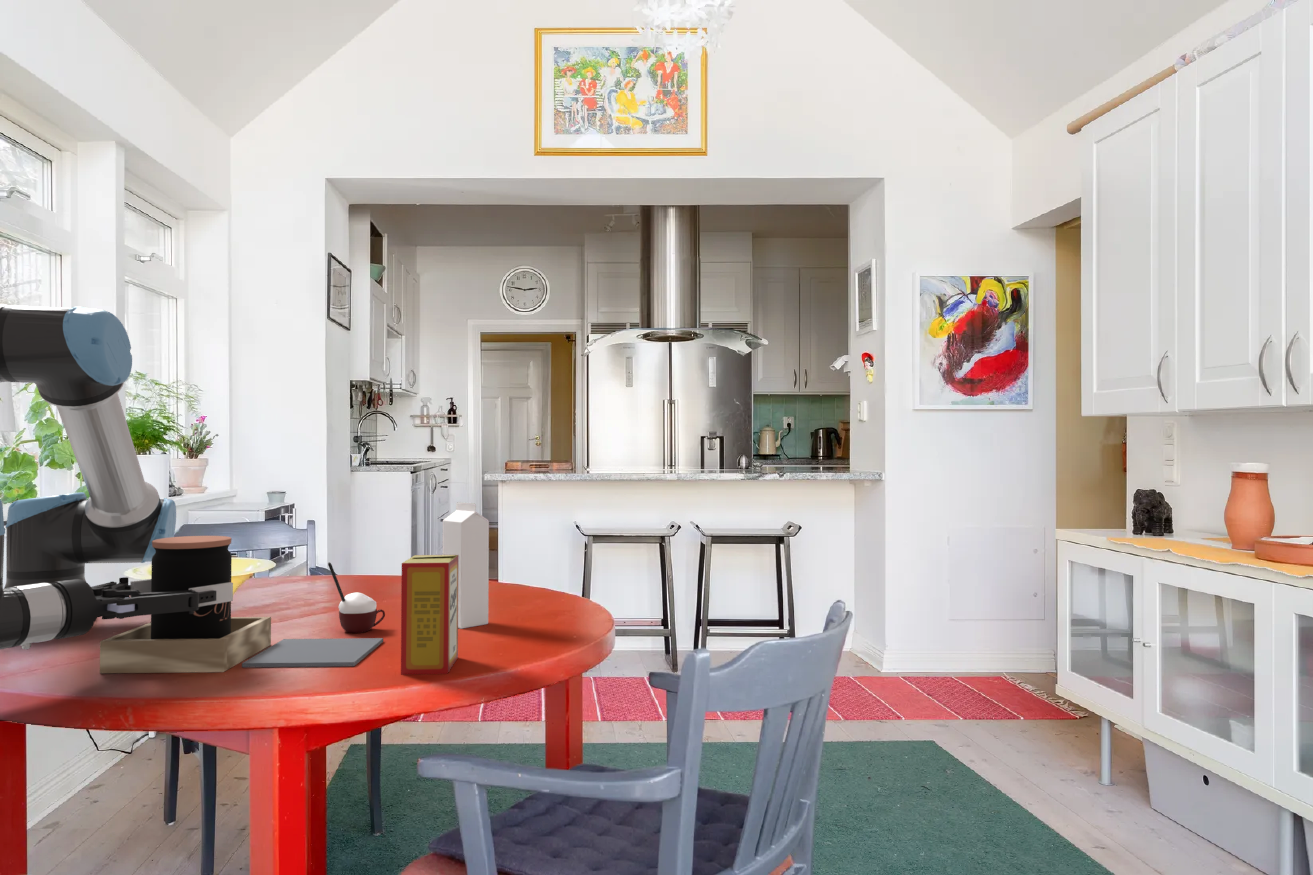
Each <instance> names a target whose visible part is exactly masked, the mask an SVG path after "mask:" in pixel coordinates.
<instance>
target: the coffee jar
mask: <svg viewBox="0 0 1313 875" xmlns="http://www.w3.org/2000/svg"><path fill="white" fill-rule="evenodd" d="M232 540H233V539H232V537H231V536H226V535H186V536H174V537H170V538H162V539H156V540H153V541H152V546H153V548H154V549H155V550H156V553H155V554H154V555H153V556H152V561H151V575H150V576H151V578H150V579H151V592H169V591H188V590H189V588H196V587H202V586H209V585H215V584H222V583H229V582H231V583H232V553H231V552H230V550H229V547H230V545H232ZM231 617H232V601H229V602H223V603H218V604H212V605H206V606H200V607H199V609H198V610H196V611H195V613H194V614H189V611H184V612H173V613H163V614H153V615H150V622H151V639H220V638H222V637H224V636H226V635H228V634H231Z"/></svg>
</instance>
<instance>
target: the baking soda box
mask: <svg viewBox="0 0 1313 875" xmlns="http://www.w3.org/2000/svg"><path fill="white" fill-rule="evenodd" d="M458 562H459V555H443V554H415V555H413V556H411V557H410V558H408V559H406V560H405V561H403V562H402V563H401V592H400V593H401V596H400V597H401V599H400V600H401V602H400V606H401V608H400V611H401V613H400V615H401V617H400V620H401V621H400V623H401V624H400V626H401V627H400V635H401V636H400V675H404V676H405V675H445V674H446V675H447V673H448V672H450V671H451V670H450V669H452V668H453V666H454V665H455V663H456V662H457V660H458V658H459V628H458ZM456 659H457V660H456ZM453 664H454V665H453ZM451 667H452V668H451ZM448 674H449V673H448Z"/></svg>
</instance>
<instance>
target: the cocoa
mask: <svg viewBox="0 0 1313 875" xmlns="http://www.w3.org/2000/svg"><path fill="white" fill-rule="evenodd" d="M327 566H328V569H329V572H330V573H331V576H332V578H333V581H334V584H335V586H336V589H337V592H338V594H339V596H340V599H341V601H340V602H339V604H338V610H339V611H338V618H339V623H340V626H341V627H342V629H343V630H344V631H345V632H346V633H349V634H361V633H366V632H368V631H370V630H371V629H372V628H374V627H376V626H377V625H379V624H380V623H381V622H382V621H383V620H384V619H385V616H386V613H385V610H384V609H378V610H377V601H376V600H374V599H373V598H372V597H371V596H370V597H369V596H368V595H366V594H364V593H362V592H351V593H348V594H346V595H345V596H344V593H343V591H342V587H341V586H340V583H339V580H338V578H337V576H336V575H337V574H336V572H335V569H334V568H333V564H332V563H331V562H328V563H327ZM378 613H382V615H381V618H379V619H378V620H377V615H378Z"/></svg>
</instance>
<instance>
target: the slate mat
mask: <svg viewBox="0 0 1313 875" xmlns="http://www.w3.org/2000/svg"><path fill="white" fill-rule="evenodd" d="M383 642H384V638H383V637H375V638H373V637H372V638H371V637H370V638H369V637H367V638H364V637H363V638H361V637H359V638H352V637H351V638H348V637H347V638H346V637H344V638H343V637H342V638H283V639H281V640H280V641H278V642H276V643H274V644H272V645H270V647H269V646H268V647H266V648H265V649H263V651H262V650H261V651H260V652H258V653H256V654H254V655H253V656H251V657H249V659H248V658H247V659H246V660H244V661H242V662H241V668H304V667H305V668H306V667H307V668H313V667H315V668H317V667H322V668H323V667H355V666H356V665H358V663H360V662H361V661H362V660H364V658H366V657H367V656H368V655H369V654H370V653H372V652H373V651H374V650H375V649H377V647H379V646H380V645H381V644H383Z"/></svg>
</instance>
